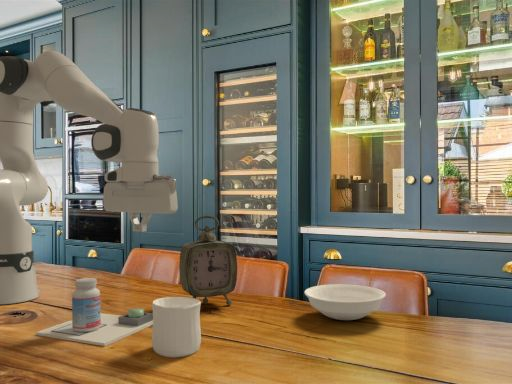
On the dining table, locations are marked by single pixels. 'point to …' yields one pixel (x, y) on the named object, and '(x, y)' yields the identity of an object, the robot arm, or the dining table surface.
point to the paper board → (94, 331)
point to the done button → (136, 313)
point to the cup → (176, 326)
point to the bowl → (345, 300)
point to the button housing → (135, 319)
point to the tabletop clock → (208, 266)
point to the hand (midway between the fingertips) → (139, 231)
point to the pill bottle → (86, 306)
